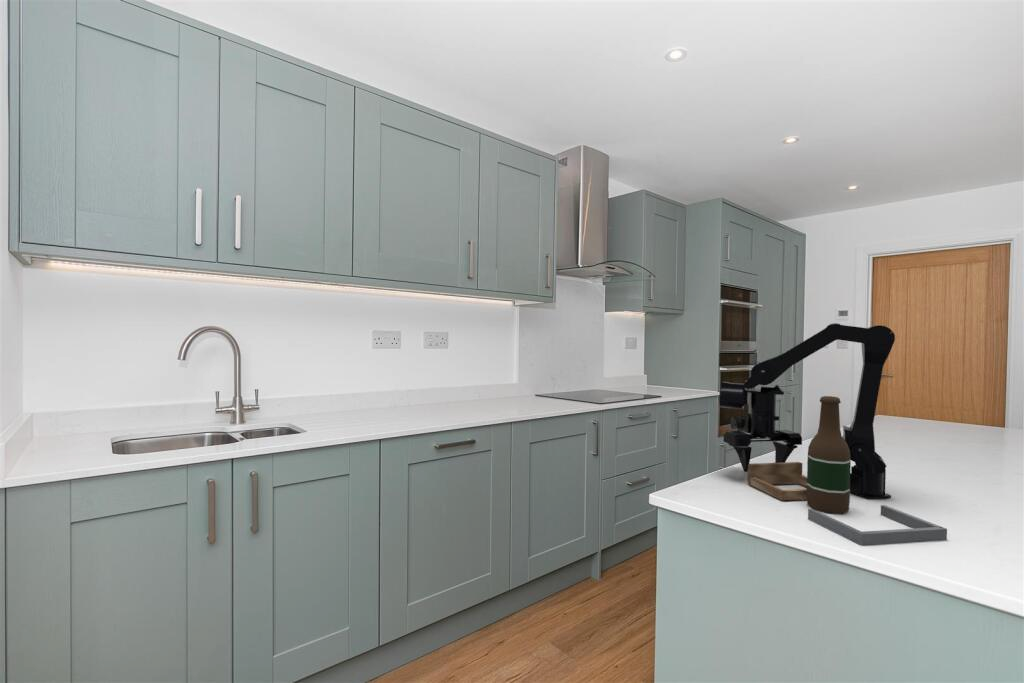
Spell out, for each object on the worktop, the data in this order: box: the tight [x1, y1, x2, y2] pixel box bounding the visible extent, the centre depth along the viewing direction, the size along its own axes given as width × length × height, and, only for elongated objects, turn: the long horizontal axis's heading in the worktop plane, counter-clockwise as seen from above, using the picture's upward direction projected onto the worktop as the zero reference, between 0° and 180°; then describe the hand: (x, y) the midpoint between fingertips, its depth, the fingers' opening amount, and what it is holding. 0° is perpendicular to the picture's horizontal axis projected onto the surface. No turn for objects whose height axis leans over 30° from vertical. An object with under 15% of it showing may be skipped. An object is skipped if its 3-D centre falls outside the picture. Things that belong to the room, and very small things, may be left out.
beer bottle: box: [806, 395, 852, 515], centre depth 106 cm, size 8×8×24 cm
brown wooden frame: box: [747, 461, 807, 501], centre depth 117 cm, size 14×12×5 cm
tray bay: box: [807, 504, 948, 546], centre depth 95 cm, size 18×12×2 cm
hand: (761, 471), depth 127 cm, fingers open, 9 cm apart
